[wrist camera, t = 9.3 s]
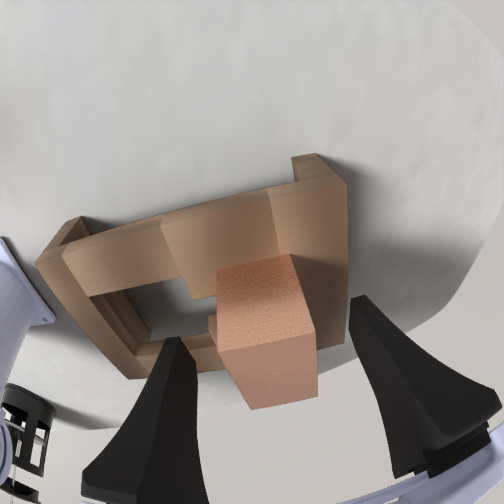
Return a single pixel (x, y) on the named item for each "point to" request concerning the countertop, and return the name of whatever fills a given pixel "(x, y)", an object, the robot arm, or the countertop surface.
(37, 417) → the french press
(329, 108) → the countertop surface
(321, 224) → the keyhole plate
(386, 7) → the countertop surface
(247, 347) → the peg
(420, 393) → the robot arm
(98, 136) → the countertop surface
